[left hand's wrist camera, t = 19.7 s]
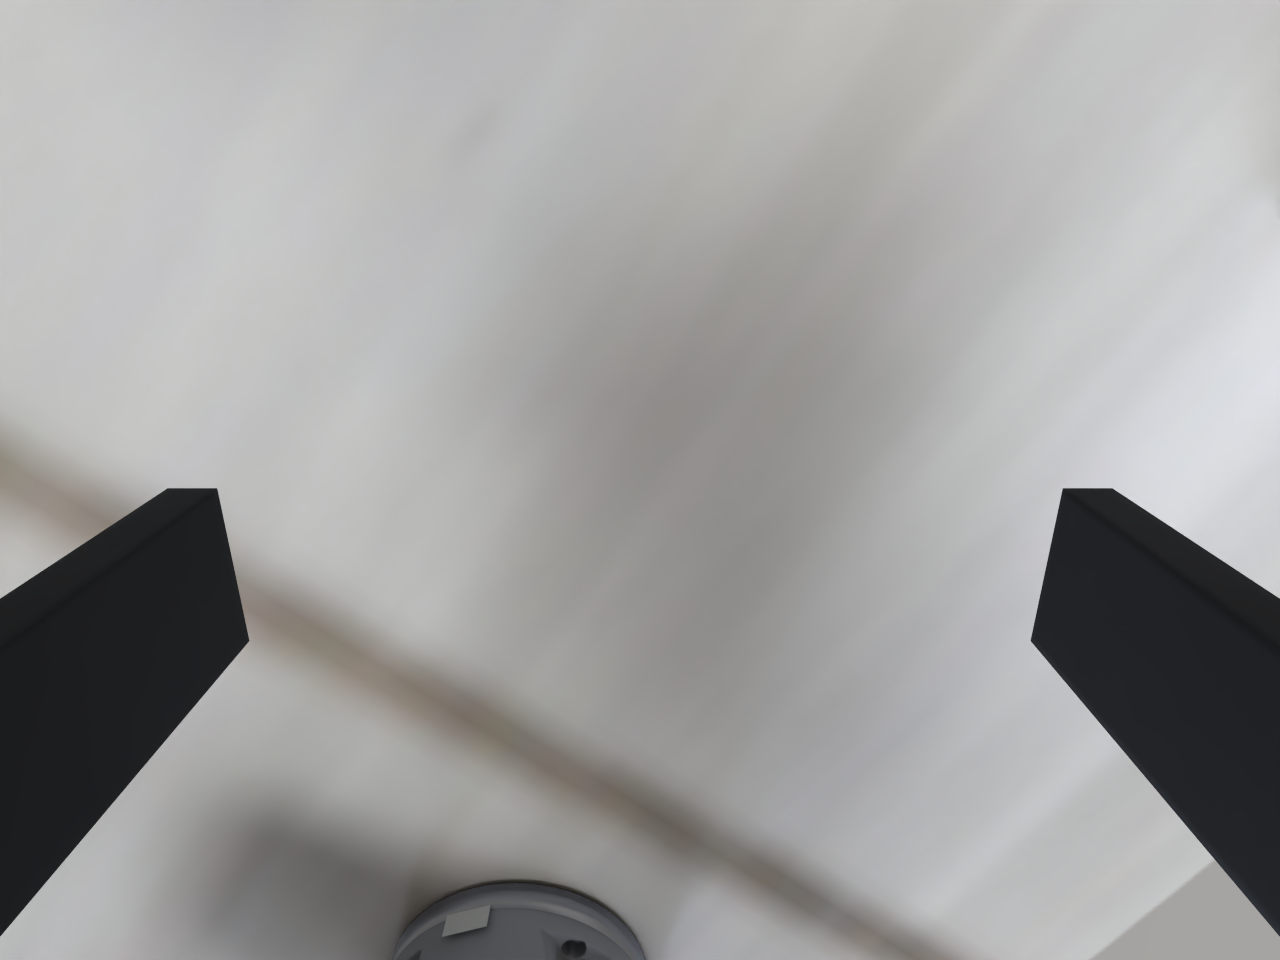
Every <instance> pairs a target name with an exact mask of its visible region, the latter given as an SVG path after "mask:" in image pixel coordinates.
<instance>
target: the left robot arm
mask: <svg viewBox="0 0 1280 960" xmlns="http://www.w3.org/2000/svg"><path fill="white" fill-rule="evenodd" d="M248 642H249V637H248V633H247V628H246V623H245V618H244V614H243V609H242V604H241V599H240V595H239V590H238V585H237V580H236V576H235V571H234V566H233V562H232V557H231V552H230V547H229V543H228V538H227V533H226V528H225V524H224V519H223V514H222V509H221V505H220V500H219V495H218V491H217V488H168V489H166V490H165V491H163V492H162V493H160V494H159V495H157V496H156V497H154V498H152V499H151V500H149V501H148V502H146V503H145V504H143V505H142V506H140V507H139V508H137V509H136V510H134V511H133V512H131V513H130V514H128V515H127V516H125V517H124V518H122V519H121V520H119V521H118V522H116V523H115V524H113V525H112V526H110V527H108V528H107V529H105V530H104V531H102V532H101V533H99V534H98V535H96V536H95V537H93V538H92V539H90V540H89V541H87V542H86V543H84V544H83V545H81V546H80V547H78V548H77V549H75V550H74V551H72V552H71V553H69V554H68V555H66V556H64V557H63V558H61V559H60V560H58V561H57V562H55V563H54V564H52V565H51V566H49V567H48V568H46V569H45V570H43V571H42V572H40V573H39V574H37V575H36V576H34V577H33V578H31V579H30V580H28V581H27V582H25V583H24V584H22V585H20V586H19V587H17V588H16V589H14V590H13V591H11V592H10V593H8V594H7V595H5V596H4V597H2V598H1V599H0V936H1V935H2V934H3V933H4V931H5V930H6V929H7V928H8V927H9V925H10V924H11V923H12V922H13V921H14V919H15V918H16V917H17V916H18V915H19V914H20V912H21V911H22V910H23V909H24V908H25V906H26V905H27V904H28V903H29V902H30V900H31V899H32V898H33V897H34V896H35V895H36V893H37V892H38V891H39V890H40V889H41V887H42V886H43V885H44V884H45V883H46V881H47V880H48V879H49V878H50V877H51V876H52V874H53V873H54V872H55V871H56V870H57V868H58V867H59V866H60V865H61V864H62V862H63V861H64V860H65V859H66V858H67V857H68V855H69V854H70V853H71V852H72V851H73V849H74V848H75V847H76V846H77V845H78V844H79V842H80V841H81V840H82V839H83V838H84V836H85V835H86V834H87V833H88V832H89V830H90V829H91V828H92V827H93V826H94V825H95V823H96V822H97V821H98V820H99V819H100V817H101V816H102V815H103V814H104V813H105V811H106V810H107V809H108V808H109V807H110V806H111V804H112V803H113V802H114V801H115V800H116V798H117V797H118V796H119V795H120V794H121V792H122V791H123V790H124V789H125V788H126V787H127V785H128V784H129V783H130V782H131V781H132V779H133V778H134V777H135V776H136V775H137V773H138V772H139V771H140V770H141V769H142V768H143V766H144V765H145V764H146V763H147V762H148V760H149V759H150V758H151V757H152V756H153V754H154V753H155V752H156V751H157V750H158V749H159V747H160V746H161V745H162V744H163V743H164V741H165V740H166V739H167V738H168V737H169V736H170V734H171V733H172V732H173V731H174V730H175V728H176V727H177V726H178V725H179V724H180V722H181V721H182V720H183V719H184V718H185V717H186V715H187V714H188V713H189V712H190V711H191V709H192V708H193V707H194V706H195V705H196V703H197V702H198V701H199V700H200V699H201V698H202V696H203V695H204V694H205V693H206V692H207V690H208V689H209V688H210V687H211V686H212V684H213V683H214V682H215V681H216V680H217V679H218V677H219V676H220V675H221V674H222V673H223V671H224V670H225V669H226V668H227V667H228V665H229V664H230V663H231V662H232V661H233V660H234V658H235V657H236V656H237V655H238V654H239V652H240V651H241V650H242V649H243V648H244V647H245V645H246V644H247V643H248ZM1031 642H1032V643H1033V644H1034V645H1035V647H1036V648H1037V649H1038V650H1039V651H1040V652H1041V654H1042V655H1043V656H1044V657H1045V658H1046V660H1047V661H1048V662H1049V663H1050V664H1051V665H1052V667H1053V668H1054V669H1055V670H1056V671H1057V673H1058V674H1059V675H1060V676H1061V677H1062V679H1063V680H1064V681H1065V682H1066V683H1067V684H1068V686H1069V687H1070V688H1071V689H1072V690H1073V692H1074V693H1075V694H1076V695H1077V696H1078V698H1079V699H1080V700H1081V701H1082V702H1083V703H1084V705H1085V706H1086V707H1087V708H1088V709H1089V711H1090V712H1091V713H1092V714H1093V715H1094V717H1095V718H1096V719H1097V720H1098V721H1099V722H1100V724H1101V725H1102V726H1103V727H1104V728H1105V730H1106V731H1107V732H1108V733H1109V734H1110V736H1111V737H1112V738H1113V739H1114V740H1115V741H1116V743H1117V744H1118V745H1119V746H1120V747H1121V749H1122V750H1123V751H1124V752H1125V753H1126V754H1127V756H1128V757H1129V758H1130V759H1131V760H1132V762H1133V763H1134V764H1135V765H1136V766H1137V768H1138V769H1139V770H1140V771H1141V772H1142V773H1143V775H1144V776H1145V777H1146V778H1147V779H1148V781H1149V782H1150V783H1151V784H1152V785H1153V787H1154V788H1155V789H1156V790H1157V791H1158V792H1159V794H1160V795H1161V796H1162V797H1163V798H1164V800H1165V801H1166V802H1167V803H1168V804H1169V806H1170V807H1171V808H1172V809H1173V810H1174V811H1175V813H1176V814H1177V815H1178V816H1179V817H1180V819H1181V820H1182V821H1183V822H1184V823H1185V825H1186V826H1187V827H1188V828H1189V829H1190V830H1191V832H1192V833H1193V834H1194V835H1195V836H1196V838H1197V839H1198V840H1199V841H1200V842H1201V843H1202V845H1203V846H1204V847H1205V848H1206V849H1207V851H1208V852H1209V853H1210V854H1211V855H1212V857H1213V858H1214V859H1215V860H1216V861H1217V862H1218V864H1219V865H1220V866H1221V867H1222V868H1223V870H1224V871H1225V872H1226V873H1227V874H1228V876H1229V877H1230V878H1231V879H1232V880H1233V881H1234V883H1235V884H1236V885H1237V886H1238V887H1239V889H1240V890H1241V891H1242V892H1243V893H1244V895H1245V896H1246V897H1247V898H1248V899H1249V900H1250V902H1251V903H1252V904H1253V905H1254V906H1255V908H1256V909H1257V910H1258V911H1259V912H1260V914H1261V915H1262V916H1263V917H1264V918H1265V919H1266V921H1267V922H1268V923H1269V924H1270V925H1271V927H1272V928H1273V929H1274V930H1275V931H1276V932H1277V934H1278V935H1279V936H1280V599H1279V598H1278V597H1276V596H1275V595H1273V594H1272V593H1270V592H1269V591H1267V590H1266V589H1264V588H1263V587H1261V586H1260V585H1258V584H1256V583H1255V582H1253V581H1252V580H1250V579H1249V578H1247V577H1246V576H1244V575H1243V574H1241V573H1240V572H1238V571H1237V570H1235V569H1234V568H1232V567H1231V566H1229V565H1228V564H1226V563H1225V562H1223V561H1222V560H1220V559H1219V558H1217V557H1216V556H1214V555H1212V554H1211V553H1209V552H1208V551H1206V550H1205V549H1203V548H1202V547H1200V546H1199V545H1197V544H1196V543H1194V542H1193V541H1191V540H1190V539H1188V538H1187V537H1185V536H1184V535H1182V534H1181V533H1179V532H1178V531H1176V530H1175V529H1173V528H1172V527H1170V526H1168V525H1167V524H1165V523H1164V522H1162V521H1161V520H1159V519H1158V518H1156V517H1155V516H1153V515H1152V514H1150V513H1149V512H1147V511H1146V510H1144V509H1143V508H1141V507H1140V506H1138V505H1137V504H1135V503H1134V502H1132V501H1131V500H1129V499H1128V498H1126V497H1124V496H1123V495H1121V494H1120V493H1118V492H1117V491H1115V490H1114V489H1112V488H1063V491H1062V495H1061V500H1060V505H1059V509H1058V514H1057V519H1056V524H1055V528H1054V533H1053V538H1052V543H1051V547H1050V552H1049V557H1048V562H1047V566H1046V571H1045V576H1044V580H1043V585H1042V590H1041V595H1040V599H1039V604H1038V609H1037V614H1036V618H1035V623H1034V628H1033V633H1032V637H1031ZM392 960H646V959H645V956H644V954H643V951H642V949H641V947H640V945H639V943H638V941H637V940H636V938H635V937H634V935H633V934H632V933H631V931H630V930H629V929H628V928H627V927H626V926H625V925H624V924H623V923H622V922H621V921H620V920H619V919H618V918H617V917H616V916H614V915H613V914H612V913H610V912H609V911H608V910H606V909H605V908H603V907H602V906H600V905H598V904H597V903H595V902H593V901H591V900H589V899H587V898H585V897H582V896H580V895H577V894H575V893H572V892H569V891H566V890H562V889H558V888H554V887H550V886H544V885H538V884H527V883H503V884H492V885H485V886H480V887H476V888H471V889H468V890H465V891H462V892H458V893H456V894H454V895H451V896H449V897H446V898H444V899H443V900H441V901H439V902H437V903H435V904H434V905H432V906H431V907H429V908H427V909H426V910H425V911H424V912H422V913H421V914H420V915H419V916H418V917H417V918H416V919H415V920H414V921H413V922H412V923H411V924H410V925H409V926H408V927H407V929H406V930H405V931H404V933H403V935H402V936H401V938H400V939H399V942H398V944H397V946H396V949H395V952H394V955H393V958H392Z"/></svg>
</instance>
